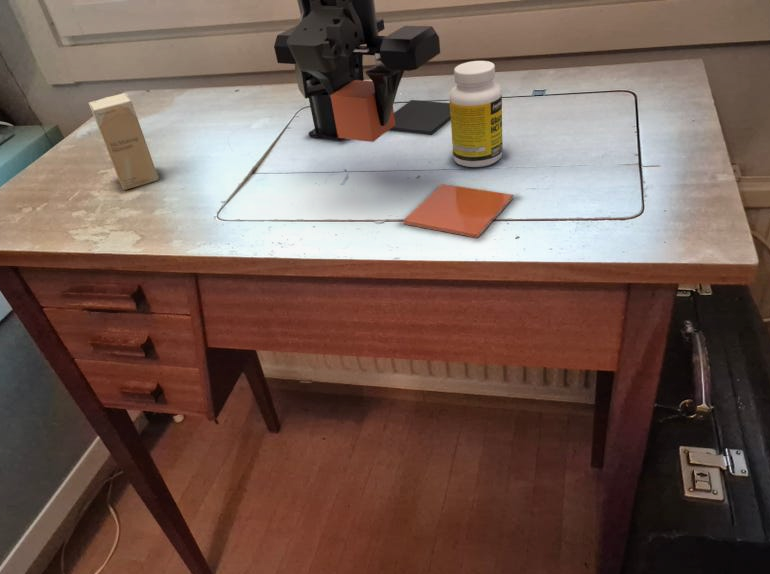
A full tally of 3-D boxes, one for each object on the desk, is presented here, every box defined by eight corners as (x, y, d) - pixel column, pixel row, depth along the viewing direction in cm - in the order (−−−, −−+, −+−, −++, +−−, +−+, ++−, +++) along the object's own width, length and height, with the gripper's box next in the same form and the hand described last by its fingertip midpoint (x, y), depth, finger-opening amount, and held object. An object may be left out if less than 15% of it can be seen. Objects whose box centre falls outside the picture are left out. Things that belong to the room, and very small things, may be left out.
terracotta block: (338, 137, 78) (330, 95, 75) (361, 121, 81) (354, 79, 78) (373, 142, 76) (366, 98, 72) (395, 125, 79) (390, 82, 75)
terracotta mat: (403, 224, 73) (403, 220, 72) (442, 187, 78) (442, 183, 78) (477, 238, 68) (477, 233, 68) (513, 198, 74) (513, 194, 73)
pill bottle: (501, 168, 80) (499, 74, 73) (450, 169, 81) (443, 78, 74) (504, 146, 84) (503, 56, 77) (456, 148, 86) (451, 60, 79)
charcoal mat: (377, 128, 95) (376, 125, 94) (412, 103, 101) (411, 99, 100) (431, 134, 90) (431, 131, 90) (464, 107, 96) (464, 104, 96)
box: (124, 191, 90) (90, 110, 83) (119, 180, 93) (85, 102, 86) (161, 179, 91) (131, 99, 84) (155, 169, 94) (125, 90, 87)
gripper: (224, -6, 67) (262, 142, 77) (375, -7, 58) (397, 160, 68) (290, -33, 74) (318, 107, 84) (436, -37, 65) (447, 119, 75)
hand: (365, 122), depth 78 cm, fingers closed on terracotta block, 5 cm apart
